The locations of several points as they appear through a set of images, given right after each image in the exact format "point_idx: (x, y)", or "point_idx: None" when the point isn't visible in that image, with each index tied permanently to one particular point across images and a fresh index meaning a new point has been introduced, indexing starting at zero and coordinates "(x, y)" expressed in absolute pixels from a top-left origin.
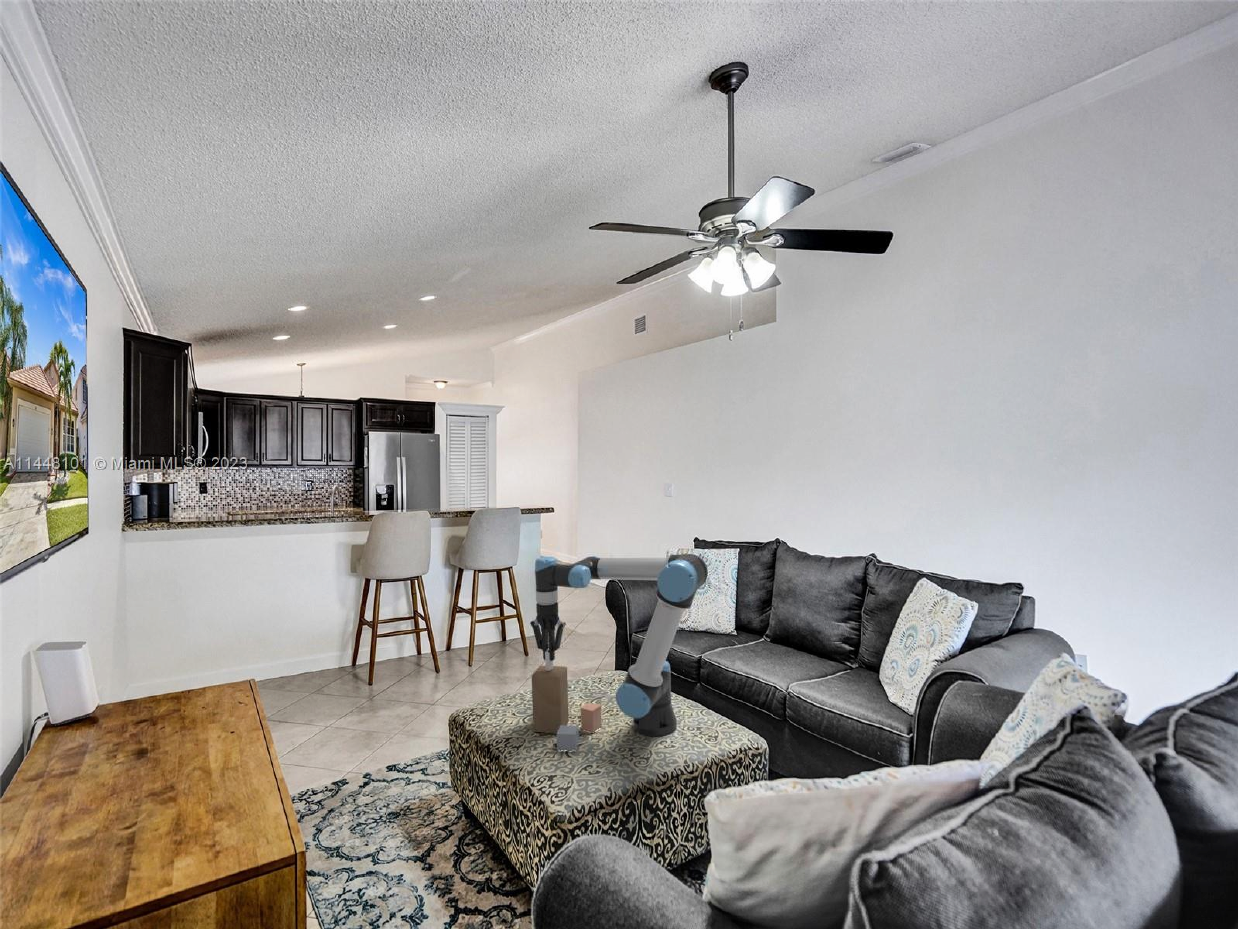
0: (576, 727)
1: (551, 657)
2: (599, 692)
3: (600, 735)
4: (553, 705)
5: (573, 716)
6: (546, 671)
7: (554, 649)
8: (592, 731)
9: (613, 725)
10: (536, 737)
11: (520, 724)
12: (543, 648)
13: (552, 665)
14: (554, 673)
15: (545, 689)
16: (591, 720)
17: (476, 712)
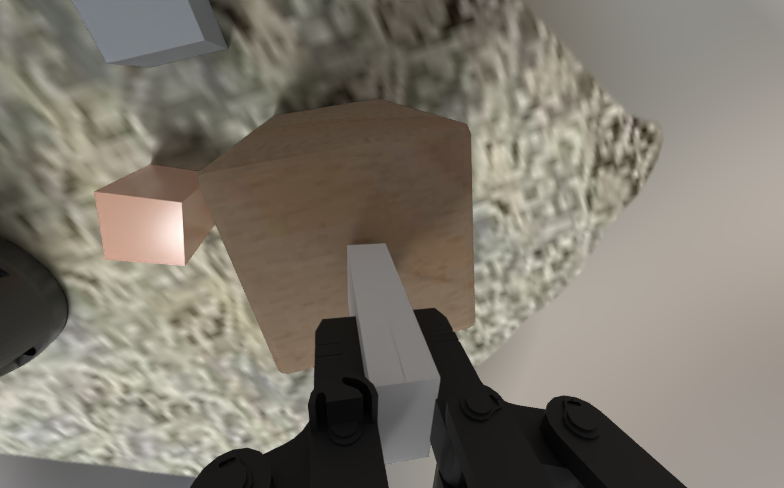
0: (98, 36)
1: (336, 347)
2: None
3: (115, 162)
4: (285, 124)
5: None
6: None
7: (240, 474)
8: (151, 167)
9: None
10: (351, 65)
11: None
12: (491, 427)
13: (350, 312)
14: (289, 234)
15: (333, 128)
16: (133, 179)
17: (618, 178)
